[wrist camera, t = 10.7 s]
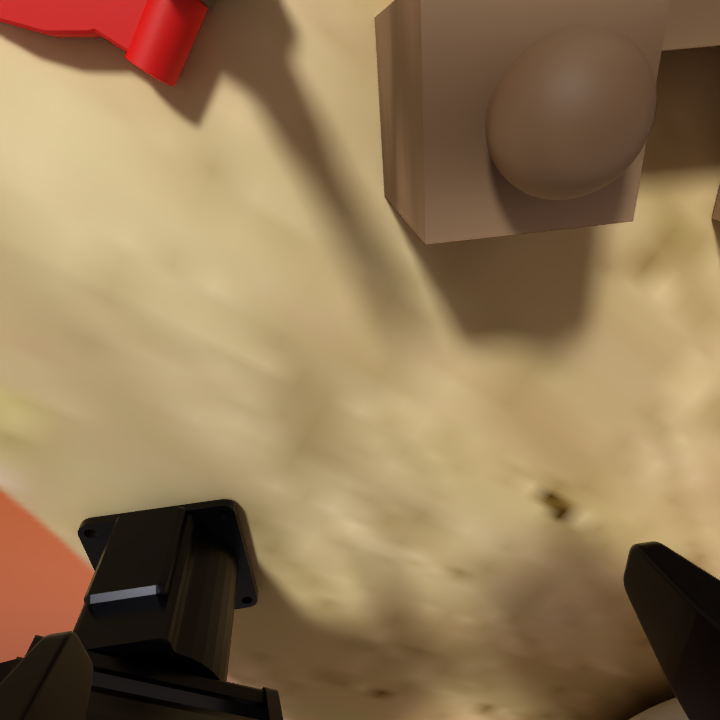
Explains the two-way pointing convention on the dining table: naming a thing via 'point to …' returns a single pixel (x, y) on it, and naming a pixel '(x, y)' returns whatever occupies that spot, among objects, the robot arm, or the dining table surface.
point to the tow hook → (120, 27)
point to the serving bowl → (663, 712)
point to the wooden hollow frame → (523, 109)
